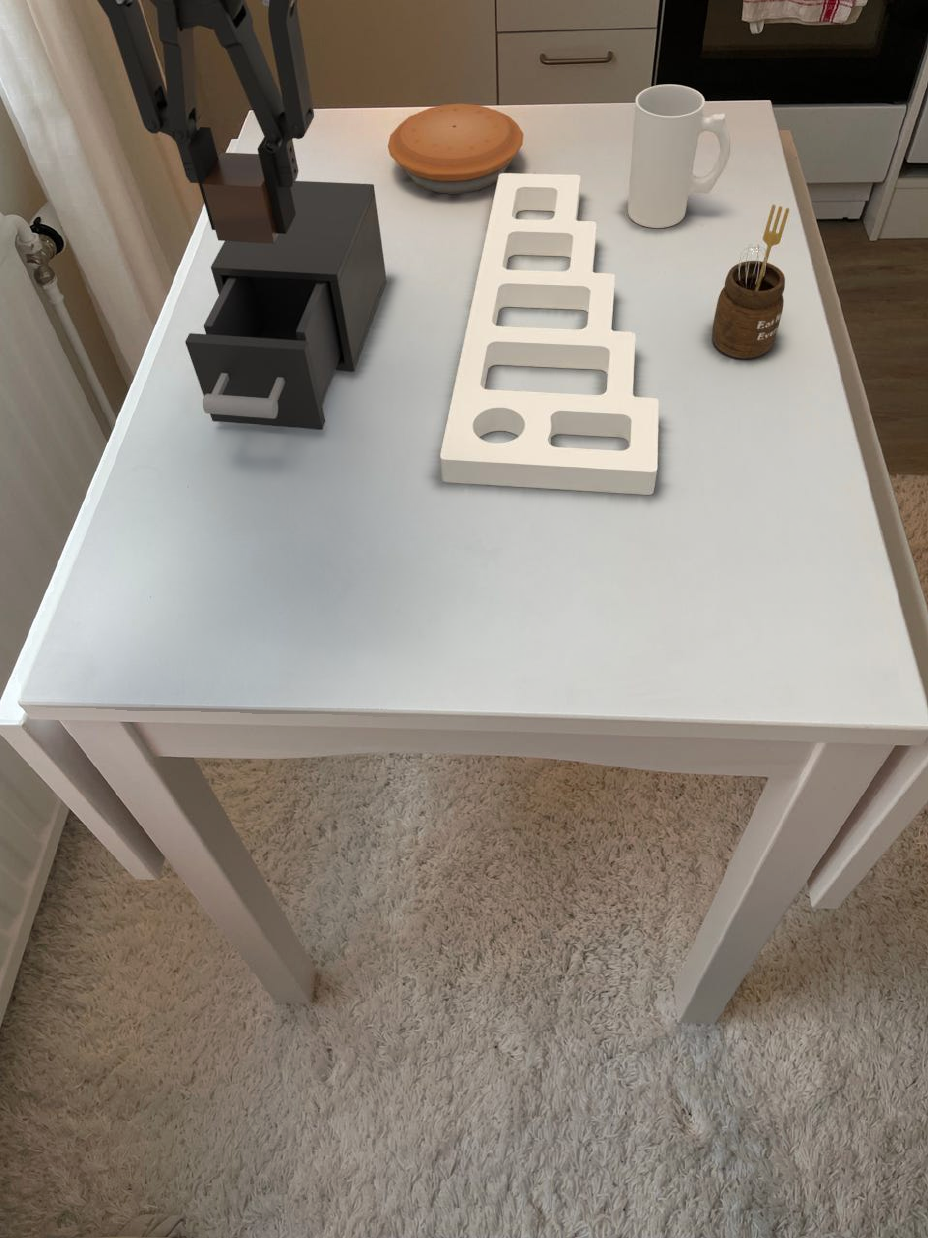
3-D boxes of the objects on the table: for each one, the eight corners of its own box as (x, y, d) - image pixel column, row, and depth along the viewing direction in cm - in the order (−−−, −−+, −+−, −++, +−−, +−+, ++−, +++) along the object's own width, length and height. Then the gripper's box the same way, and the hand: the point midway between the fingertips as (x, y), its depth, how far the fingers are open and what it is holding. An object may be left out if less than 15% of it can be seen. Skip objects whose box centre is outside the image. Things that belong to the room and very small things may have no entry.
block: (274, 243, 72) (260, 186, 68) (217, 240, 73) (201, 184, 69) (290, 210, 75) (278, 154, 71) (236, 208, 75) (221, 151, 72)
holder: (499, 195, 108) (499, 172, 106) (660, 200, 106) (663, 176, 104) (441, 481, 82) (439, 459, 80) (653, 495, 80) (657, 472, 78)
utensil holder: (700, 349, 90) (721, 234, 81) (725, 313, 94) (748, 197, 84) (760, 368, 89) (789, 252, 79) (783, 330, 92) (814, 213, 82)
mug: (620, 226, 103) (631, 114, 94) (629, 193, 107) (640, 81, 97) (715, 235, 101) (735, 121, 92) (720, 201, 105) (740, 88, 96)
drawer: (309, 465, 83) (289, 385, 76) (196, 455, 84) (166, 376, 77) (357, 335, 93) (343, 254, 86) (255, 328, 94) (233, 248, 87)
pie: (525, 134, 116) (526, 92, 112) (519, 205, 107) (519, 161, 103) (400, 135, 117) (395, 93, 113) (383, 205, 108) (378, 162, 104)
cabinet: (354, 371, 91) (336, 273, 83) (238, 363, 93) (210, 266, 84) (386, 280, 100) (373, 183, 91) (280, 274, 101) (258, 178, 93)
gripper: (325, -178, 55) (375, 200, 74) (47, -176, 58) (164, 190, 77) (289, -133, 51) (352, 256, 70) (-9, -133, 54) (129, 243, 72)
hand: (254, 221), depth 73 cm, fingers closed on block, 4 cm apart
